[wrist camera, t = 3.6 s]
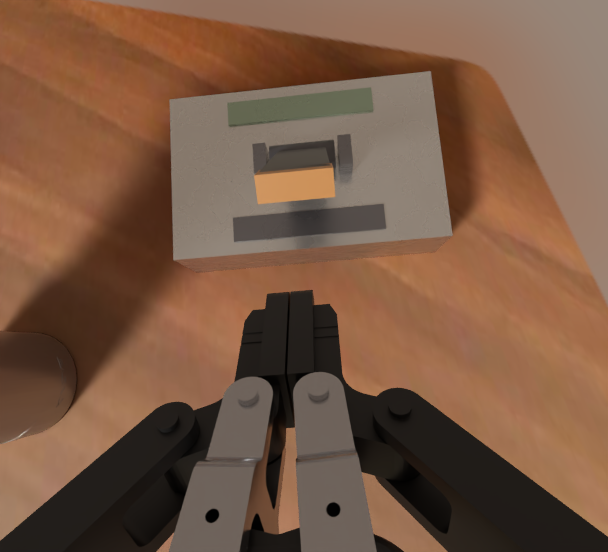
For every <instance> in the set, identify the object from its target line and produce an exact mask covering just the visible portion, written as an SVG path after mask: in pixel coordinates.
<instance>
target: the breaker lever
mask: <svg viewBox="0 0 608 552" xmlns="http://www.w3.org/2000/svg"><path fill="white" fill-rule="evenodd" d="M269 160H270V161H269V162H268V163H267V164H266V165H265V166H264V167H263V168H262V169H261V170H259V171H258V172H257V173H256V174H255V175H254V179H255V187H256V194H257V201H258V204H266V203H277V202H287V201H298V200H309V199H320V198H330V197H335V185H334V171H333V169H336V158H335V146H334V140H324V141H314V142H304V143H294V144H284V145H274V146H269Z"/></svg>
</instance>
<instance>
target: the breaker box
mask: <svg viewBox="0 0 608 552" xmlns="http://www.w3.org/2000/svg"><path fill="white" fill-rule="evenodd" d="M170 137H171V179H172V220H173V260H174V261H176V262H178V263H180V264H182V265H184V266H185V267H187V268H189V269H191V270H193V271H195V272H197V273H199V272H210V271H222V270H234V269H246V268H257V267H269V266H281V265H293V264H304V263H316V262H328V261H339V260H351V259H363V258H375V257H386V256H398V255H410V254H422V253H433V252H436V251H437V250H438V249H439V248H440V247H441V246H442V245H443V244H444V243H445V242H447V241H448V240H449V239H450V238H451V237H452V236H453V235H452V228H451V220H450V213H449V205H448V197H447V190H446V182H445V175H444V167H443V160H442V152H441V145H440V137H439V130H438V122H437V115H436V107H435V100H434V92H433V85H432V77H431V71H427V72H418V73H409V74H399V75H390V76H381V77H372V78H363V79H354V80H344V81H335V82H326V83H317V84H308V85H298V86H289V87H280V88H271V89H262V90H253V91H243V92H234V93H225V94H216V95H207V96H197V97H188V98H179V99H170ZM324 140H334V146H335V158H336V169H333V171H334V185H335V197H330V198H320V199H309V200H298V201H287V202H277V203H266V204H258V201H257V194H256V187H255V179H254V175H255V174H256V173H257V172H258V171H259V170H261V169H262V168H263V167H264V166H265V165H266V164H267V163H268V162H269V161H270V160H269V146H274V145H284V144H294V143H304V142H314V141H324Z"/></svg>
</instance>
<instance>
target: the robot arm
mask: <svg viewBox="0 0 608 552" xmlns="http://www.w3.org/2000/svg"><path fill="white" fill-rule="evenodd" d="M76 382H77V377H76V368H75V365H74V362H73V359H72V357H71V355H70V353H69V352H68V350H67V349H66V348H65V347H64V346H63V344H62V343H60V342H59V341H58V340H56V339H55V338H53V337H51V336H48V335H45V334H40V333H30V332H9V331H0V444H3V443H7V442H10V441H14V440H17V439H20V438H24V437H27V436H30V435H34V434H37V433H40V432H43V431H45V430H47V429H48V428H50V427H52V426H53V425H54V424H55V423H57V422H58V421H59V420H60V419H61V418H62V417H63V415H64V414H65V413H66V412H67V410H68V408H69V406H70V404H71V403H72V400H73V397H74V394H75V391H76ZM293 427H295V430H296V445H297V459H296V475H297V491H298V507H299V523H300V528H297V529H294V530H291V531H288V532H285V533H282V534H279V526H278V516H279V506H280V497H281V489H282V481H283V472H284V464H285V455H286V449H285V442H286V428H293ZM361 472H364V473H368V474H371V475H375V477H376V479H377V480H378V482H379V483H380V484H381V485H382V486H383V487H384V488H385V489H386V490H387V491H388V492H389V493H390V494H391V495H392V496H393V497H394V498H395V499H396V500H397V501H398V502H399V503H400V504H401V505H402V506H403V507H404V508H405V509H406V510H407V511H408V512H409V513H410V514H411V515H412V516H413V517H414V518H415V519H416V520H417V521H418V522H419V523H420V524H421V525H422V526H423V527H424V528H425V529H426V530H427V531H428V532H429V533H430V534H431V535H432V536H433V537H434V538H435V539H436V540H437V541H438V542H439V543H440V544H441V545H442V546H443V547H444V548H445V549H446V550H447V551H448V552H608V537H607V536H606V535H605V534H603V533H602V532H601V531H599V530H598V529H597V528H595V527H594V526H593V525H591V524H590V523H589V522H587V521H586V520H585V519H583V518H582V517H581V516H579V515H578V514H577V513H575V512H574V511H573V510H571V509H570V508H569V507H567V506H566V505H565V504H563V503H562V502H561V501H559V500H558V499H557V498H555V497H554V496H553V495H551V494H550V493H549V492H547V491H546V490H545V489H543V488H542V487H541V486H539V485H538V484H537V483H535V482H534V481H533V480H531V479H530V478H529V477H527V476H526V475H525V474H523V473H522V472H521V471H519V470H518V469H517V468H515V467H514V466H513V465H511V464H510V463H509V462H507V461H506V460H505V459H503V458H502V457H501V456H499V455H498V454H497V453H495V452H494V451H493V450H491V449H490V448H489V447H487V446H486V445H485V444H483V443H482V442H481V441H479V440H478V439H477V438H475V437H474V436H473V435H471V434H470V433H469V432H467V431H466V430H465V429H463V428H462V427H461V426H459V425H458V424H457V423H455V422H454V421H453V420H451V419H450V418H449V417H447V416H446V415H445V414H443V413H442V412H441V411H439V410H438V409H437V408H435V407H434V406H433V405H431V404H430V403H429V402H427V401H426V400H424V399H423V398H422V397H420V396H419V395H418V394H416V393H415V392H413V391H411V390H408V389H404V388H391V389H388V390H385V391H383V392H382V393H380V394H379V395H378V396H377V397H376V396H372V395H367V394H363V393H360V392H358V391H356V390H354V389H352V388H351V387H350V386H349V385H348V384H347V383H346V382H345V380H344V378H343V375H342V366H341V355H340V345H339V334H338V323H337V314H336V312H335V311H334V310H333V308H332V307H331V306H330V304H324V305H314V297H313V290H306V291H294V292H291V293H289V292H283V293H271V294H267V299H266V308H265V309H262V310H253V311H252V312H251V313H250V315H249V316H248V318H247V319H246V320H245V323H244V329H243V336H242V341H241V347H240V353H239V359H238V365H237V371H236V377H235V382H234V383H233V384H232V385H230V386H229V387H228V389H227V390H226V392H225V394H224V396H223V398H222V399H221V400H219V401H217V402H216V403H213V404H211V405H208V406H205V407H203V408H200V409H197V410H194V411H193V409H192V408H191V407H190V406H189V405H188V404H186V403H182V402H171V403H167V404H164V405H162V406H160V407H158V408H157V409H155V410H154V411H153V412H152V413H150V414H149V415H148V416H147V417H146V418H145V419H143V420H142V421H141V422H140V423H139V424H138V425H136V426H135V427H134V428H133V429H132V430H130V431H129V432H128V433H127V434H126V435H125V436H123V437H122V438H121V439H120V440H119V441H117V442H116V443H115V444H114V445H113V446H112V447H110V448H109V449H108V450H107V451H106V452H105V453H103V454H102V455H101V456H100V457H99V458H97V459H96V460H95V461H94V462H93V463H92V464H90V465H89V466H88V467H87V468H86V469H84V470H83V471H82V472H81V473H80V474H79V475H77V476H76V477H75V478H74V479H73V480H71V481H70V482H69V483H68V484H67V485H66V486H64V487H63V488H62V489H61V490H60V491H59V492H57V493H56V494H55V495H54V496H53V497H51V498H50V499H49V500H48V501H47V502H46V503H44V504H43V505H42V506H41V507H40V508H38V509H37V510H36V511H35V512H34V513H33V514H31V515H30V516H29V517H28V518H27V519H26V520H24V521H23V522H22V523H21V524H20V525H18V526H17V527H16V528H15V529H14V530H13V531H11V532H10V533H9V534H8V535H7V536H5V537H4V538H3V539H2V540H1V541H0V552H156V551H157V550H158V549H159V548H160V547H161V546H162V545H163V544H164V542H165V541H166V540H167V539H168V538H169V537H170V536H171V535H172V534H173V533H174V536H173V539H172V542H171V546H170V549H169V552H404V551H402V550H401V549H400V548H399V547H397V546H396V545H394V544H393V543H392V542H390V541H388V540H386V539H384V538H382V537H380V536H377V535H375V534H373V530H372V525H371V519H370V514H369V509H368V504H367V499H366V493H365V488H364V483H363V478H362V473H361Z"/></svg>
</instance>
